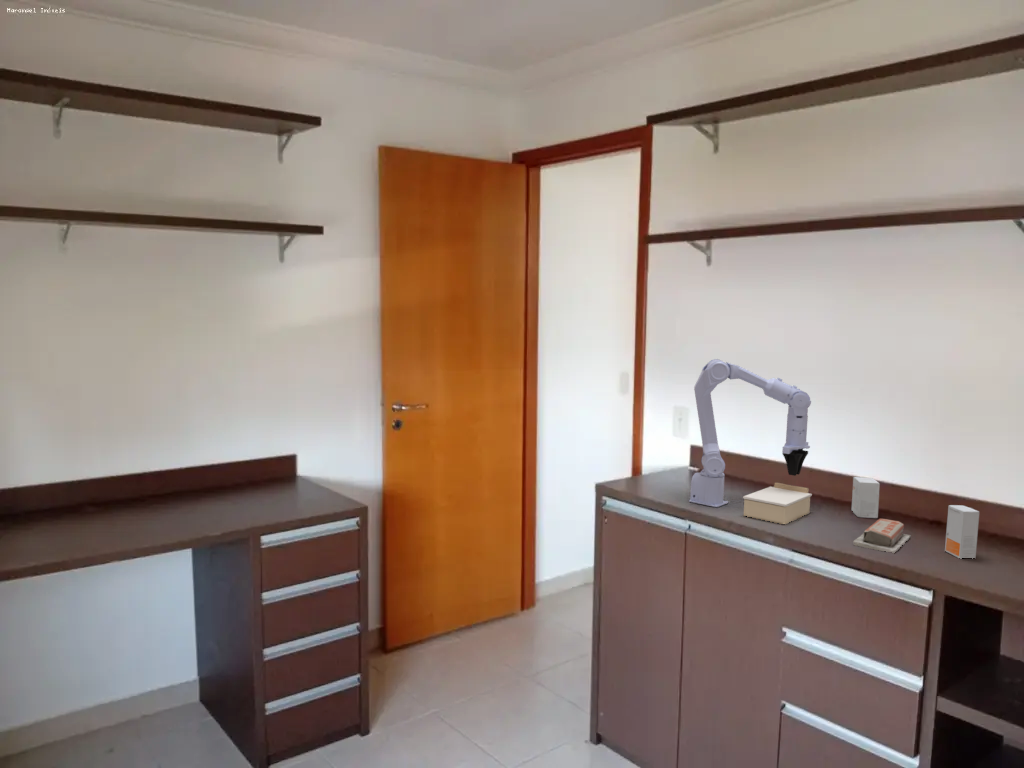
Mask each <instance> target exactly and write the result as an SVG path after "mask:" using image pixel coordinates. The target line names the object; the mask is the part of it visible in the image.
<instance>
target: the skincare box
mask: <svg viewBox="0 0 1024 768" xmlns="http://www.w3.org/2000/svg"><path fill="white" fill-rule="evenodd" d="M947 507H948V508H947V519H946V533H945V544H944V545H945V546H944V552H945V551H946V553H947V554H950V555H952V556H954V557H955V558H957V559H959V558H960V559H959V560H963V559H962V558H972V559H971V560H974V559H973V558H975V559H976V557H977V546H978V534H979V523H980V522H979V521H980V511H979V510H977V509H974V508H973V507H968V506H966V505H962V504H961V505H960V504H959V505H958V504H950V505H948V506H947Z"/></svg>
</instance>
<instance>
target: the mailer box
mask: <svg viewBox="0 0 1024 768" xmlns="http://www.w3.org/2000/svg"><path fill="white" fill-rule="evenodd" d="M810 506H811V496H810V497H808V498H805V499H803V500H801V501H798V502H796V503H794V504H791V505H789V506H787V507H784V506H779V505H774V504H769V503H764V502H759V501H753V500H748V499H744V500H743V517H744V516H747V517H746V518H748V517H752V518H751V519H753V518H756V519H755V520H758V519H761V520H760V521H762V520H765V521H764V522H767V521H770V522H769V523H772V522H774V523H773V524H777V523H779V524H778V525H781V524H785V525H787V524H790V523H791V521H792V522H794V521H796V520H798V519H800V518H803V517H804V515H805V516H806V515H809V514H810V510H811V509H810V508H811V507H810ZM802 516H803V517H802ZM789 522H790V523H789Z"/></svg>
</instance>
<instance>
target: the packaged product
mask: <svg viewBox="0 0 1024 768" xmlns="http://www.w3.org/2000/svg"><path fill="white" fill-rule="evenodd" d="M904 528H905V524H904V523H902V522H901V521H899V520H892V519H887V518H879V519H877V520H876V521H874V522H873V523H872V524H871V525H869V526H868V528H866V529H865V530H864V531H863V533H862V534H861V535H859V536H858V537H856V538H855V539H854V540H853V541H852V542H853V543H852V544H853V546H854V545H855V547H858V546H859V548H863V547H864V549H868V548H869V549H870V550H873V549H874V551H878V550H879V552H884V551H886V552H885V553H888V552H892V553H891V554H894V553H895V552H896V551H897V552H898V550H900V547H901V548H902V547H903V546H904V545H905V544H906V543H907V542H908V541H909V539H911V537H912V535H911V534H905V533H903V532H904ZM906 541H907V542H906ZM905 542H906V543H905ZM902 545H903V546H902ZM897 552H896V553H897ZM896 553H895V554H896Z"/></svg>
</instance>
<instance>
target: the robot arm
mask: <svg viewBox="0 0 1024 768" xmlns="http://www.w3.org/2000/svg"><path fill="white" fill-rule="evenodd" d="M727 379H728V380H741V381H743V382H746V383H748V384H751V385H753V386H755V387H756V388H757V387H758V388H760V389H761V390H763V393H764V395H765V396H767V397H769V398H771V399H773V400H775V401H777V402H780V403H782V404H784V405H785V404H786V405H787V406H788V411H787V417H786V418H787V419H786V432H785V433H786V434H785V443H784V446H782V452H781V453H782V456H783V457H784V460H785V464H786V469H787V472H788V475H789V476H793V477H796V476H797V475H800V473H801V471H802V467H803V463H804V461H805V459H806V457H807V456H808V455H809V451H808V450H807V449H810V448H811V446H810V445H809V442H808V441H807V433H808V432H807V431H808V422H809V421H808V420H809V419H808V418H809V416H808V411H809V409H808V408H810V406H811V404H812V400H811V397H810V395H809V394H808V393H807V392H805V391H804V390H802V389H800V388H798V386H796V385H791V384H788V383H786V382H784V381H783V379H782V378H780V377H777V378H775V377H772V378H769V379H767V378H765V377H762V376H761V375H759V374H756V373H754V372H753V371H750V370H749V369H746V368H745V367H742V366H740V365H739V364H738V365H737V364H735V363H731V362H729V361H728V362H727V361H723V360H721V359H718V358H717V359H716V358H714V359H711V360H710V361H709V362H707V363H706V364H705V365H704V366H703V367H702V370H701V372H700V374H699V376H698V378H697V380H696V381H695V382H696V383H695V385H694V387H693V388H694V389H693V390H694V395H695V402H696V403H695V404H696V409H697V416H698V423H699V431H700V437H701V444H702V456H701V460H700V462H701V465H702V467H703V468H702V470H701V471H700V472H695V473H694V474H693V475H692V477H691V482H690V499H689V500H688V503H694V504H699V505H704V506H708V507H709V506H710V507H713V508H719V507H722V506H725V505H726V504H729V502H730V501H728V500H724V494H725V493H724V492H725V491H724V490H725V477H726V476H725V473H724V471H725V469H726V463H725V460H724V459H723V458H722V456H721V452H720V447H719V441H718V435H717V428H716V427H717V426H716V423H715V422H716V421H715V414H714V407H713V401H712V392H713V390H715V388H716V387H717V386H718V385H720V384H722V383H723V382H725V381H726V380H727Z"/></svg>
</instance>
